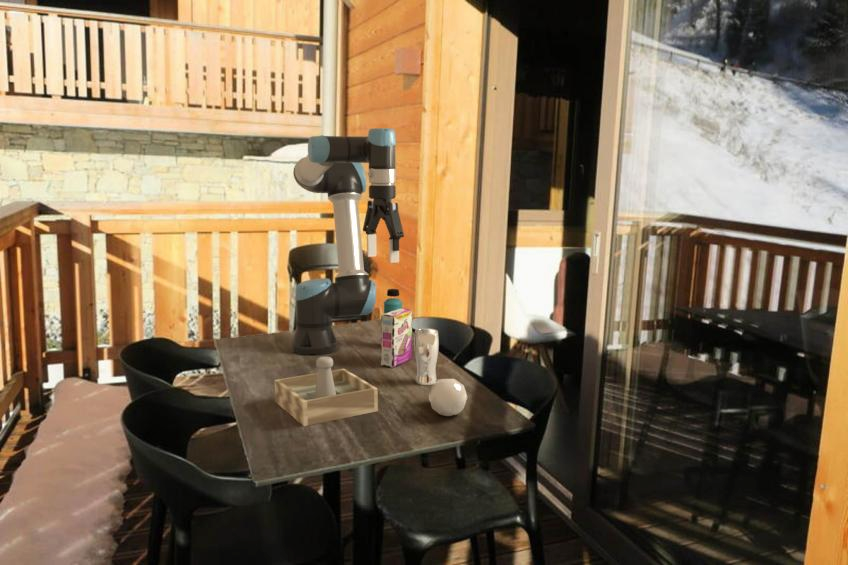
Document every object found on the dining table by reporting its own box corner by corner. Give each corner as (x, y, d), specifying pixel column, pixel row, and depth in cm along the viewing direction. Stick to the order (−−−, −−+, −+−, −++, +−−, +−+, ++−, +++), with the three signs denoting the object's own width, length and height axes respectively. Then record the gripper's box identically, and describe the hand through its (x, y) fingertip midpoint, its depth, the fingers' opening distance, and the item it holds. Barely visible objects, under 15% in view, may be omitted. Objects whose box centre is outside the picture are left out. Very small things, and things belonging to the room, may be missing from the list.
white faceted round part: (444, 428, 173) (440, 413, 188) (476, 404, 173) (470, 391, 188) (422, 398, 172) (419, 385, 187) (454, 374, 172) (449, 363, 187)
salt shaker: (332, 411, 181) (331, 361, 178) (311, 409, 182) (309, 360, 179) (339, 403, 186) (338, 355, 184) (318, 401, 187) (317, 354, 185)
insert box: (275, 401, 187) (274, 380, 186) (344, 389, 197) (344, 368, 196) (303, 426, 170) (303, 402, 169) (377, 411, 181) (377, 388, 179)
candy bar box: (394, 368, 217) (393, 316, 214) (380, 366, 219) (379, 314, 216) (412, 359, 226) (412, 309, 223) (399, 357, 229) (399, 307, 226)
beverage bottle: (385, 344, 245) (384, 287, 241) (404, 344, 244) (404, 287, 240) (381, 349, 238) (381, 290, 235) (401, 350, 238) (400, 291, 234)
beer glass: (426, 376, 209) (426, 327, 206) (443, 381, 204) (443, 331, 201) (409, 381, 204) (409, 331, 201) (426, 387, 199) (426, 335, 197)
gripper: (350, 183, 208) (352, 255, 212) (391, 186, 187) (392, 266, 191) (373, 182, 212) (374, 253, 216) (416, 185, 191) (416, 264, 195)
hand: (382, 259), depth 203 cm, fingers open, 13 cm apart
